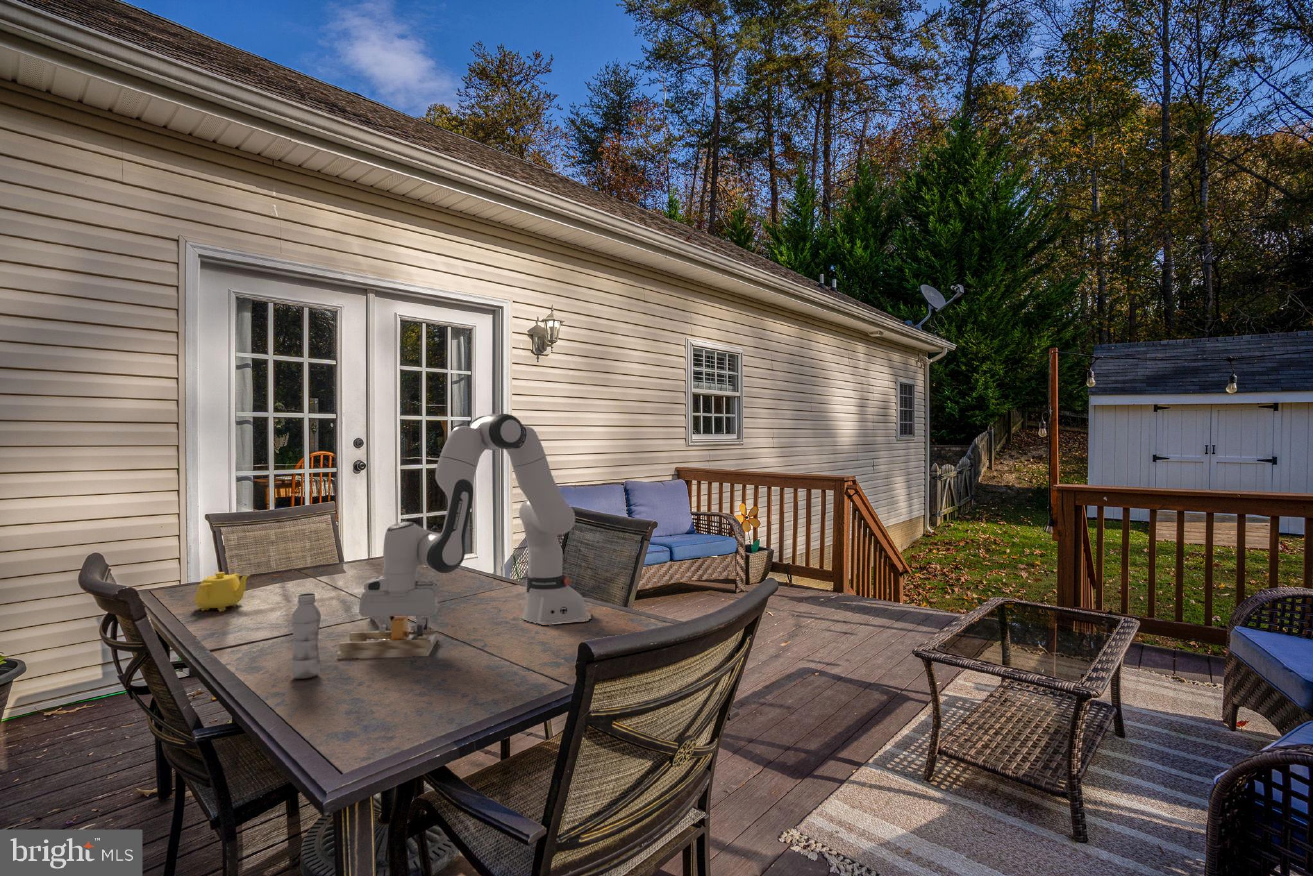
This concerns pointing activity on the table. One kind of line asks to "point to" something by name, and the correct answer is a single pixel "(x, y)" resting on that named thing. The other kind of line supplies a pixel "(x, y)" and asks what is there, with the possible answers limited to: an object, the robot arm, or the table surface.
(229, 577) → the teapot
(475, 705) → the table surface
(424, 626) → the keeper hook
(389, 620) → the grey rounded slab
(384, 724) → the table surface
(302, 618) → the plastic bottle
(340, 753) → the table surface
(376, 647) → the guide board
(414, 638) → the chain end link
